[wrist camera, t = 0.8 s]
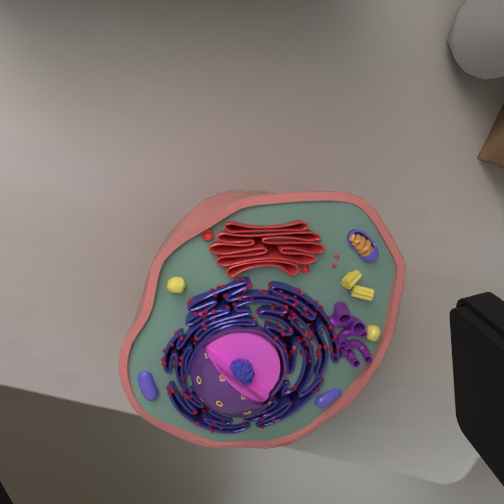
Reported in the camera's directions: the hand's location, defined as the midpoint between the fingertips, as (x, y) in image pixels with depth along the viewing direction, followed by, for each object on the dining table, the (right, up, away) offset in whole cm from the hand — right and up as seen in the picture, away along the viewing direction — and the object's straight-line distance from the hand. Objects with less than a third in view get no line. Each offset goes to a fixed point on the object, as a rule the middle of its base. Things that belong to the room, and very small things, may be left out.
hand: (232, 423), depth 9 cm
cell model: (0, +1, +28) cm, 28 cm away
